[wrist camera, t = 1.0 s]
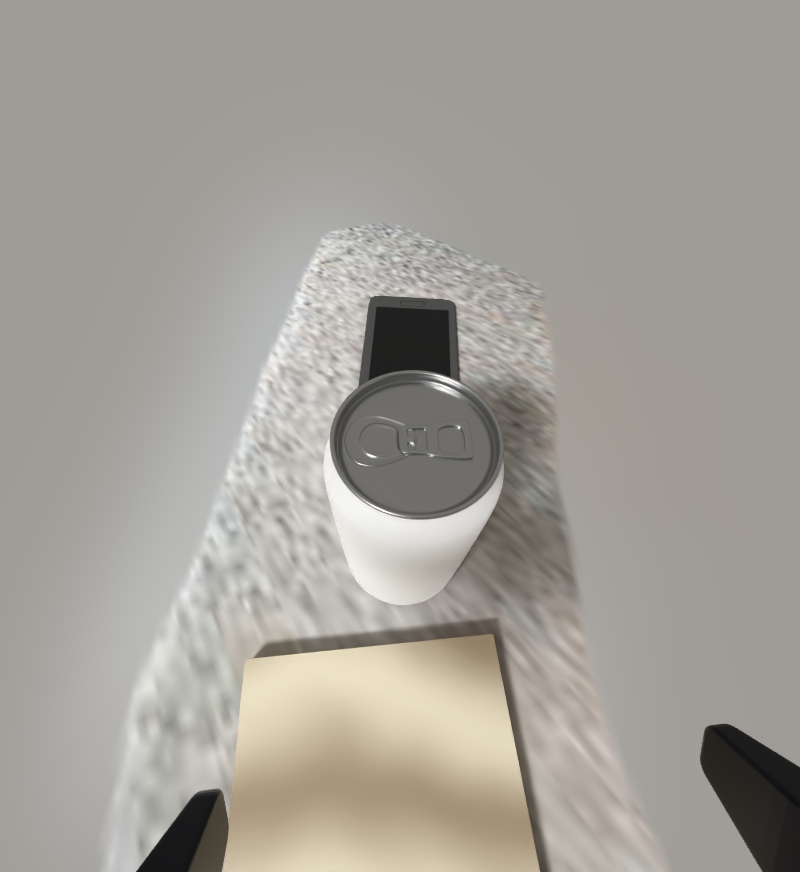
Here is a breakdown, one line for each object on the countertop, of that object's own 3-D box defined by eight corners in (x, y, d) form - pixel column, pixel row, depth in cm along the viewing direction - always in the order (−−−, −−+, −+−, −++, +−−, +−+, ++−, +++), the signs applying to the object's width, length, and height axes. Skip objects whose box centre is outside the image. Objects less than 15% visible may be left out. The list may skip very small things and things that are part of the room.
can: (348, 495, 25) (323, 359, 14) (452, 494, 25) (500, 361, 15) (342, 608, 21) (305, 534, 11) (464, 606, 21) (537, 532, 11)
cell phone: (453, 305, 35) (455, 298, 34) (460, 441, 27) (462, 435, 27) (369, 301, 35) (369, 294, 34) (353, 435, 27) (352, 429, 27)
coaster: (559, 1007, 14) (570, 1028, 13) (213, 1070, 13) (202, 1096, 12) (488, 636, 21) (493, 633, 20) (250, 660, 20) (245, 659, 19)
